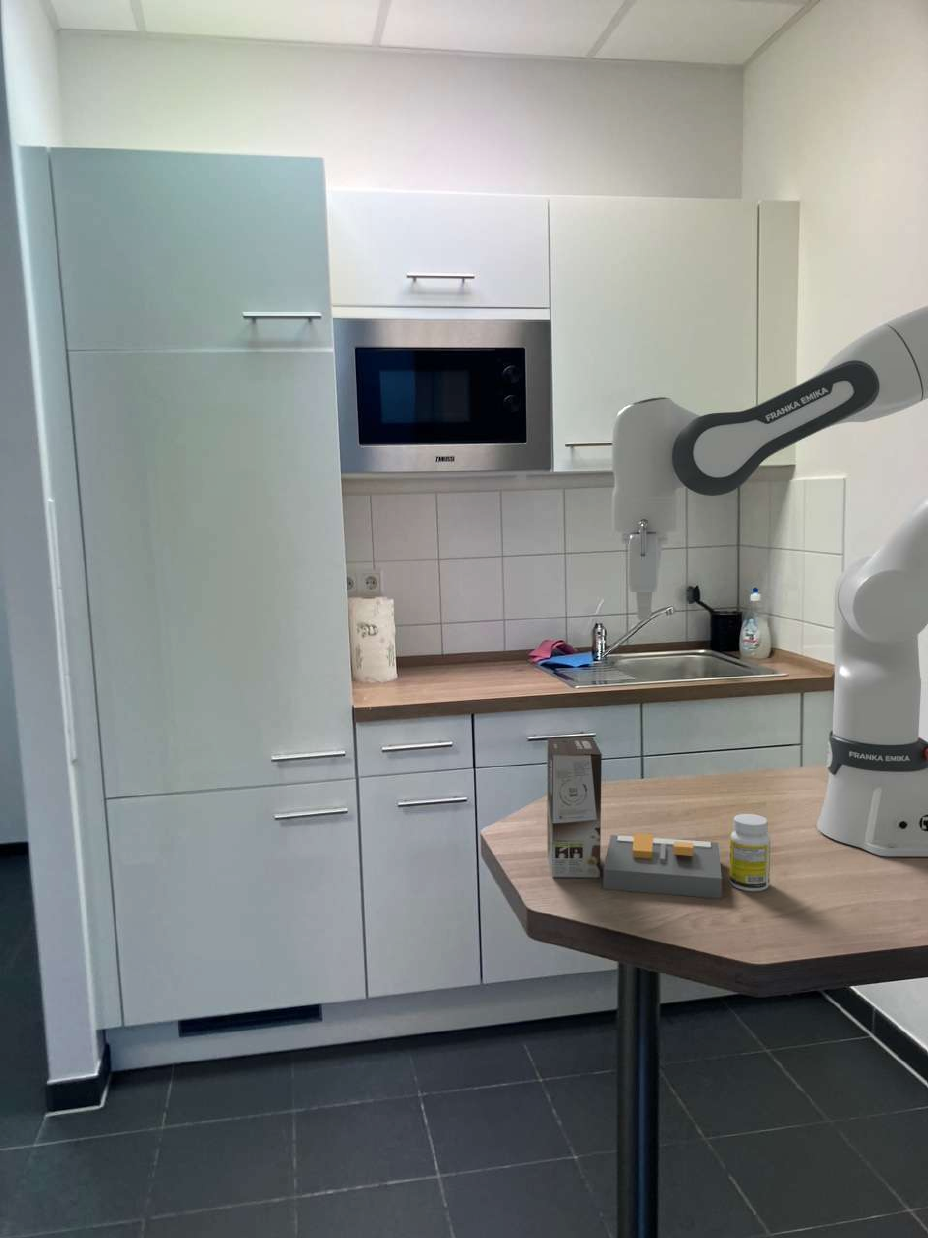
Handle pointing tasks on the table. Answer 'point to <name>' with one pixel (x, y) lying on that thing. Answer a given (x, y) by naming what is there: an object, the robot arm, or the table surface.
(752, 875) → the supplement bottle
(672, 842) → the switch strip
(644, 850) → the paddle
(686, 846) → the orange rectangular block
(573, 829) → the coffee box
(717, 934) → the table surface
